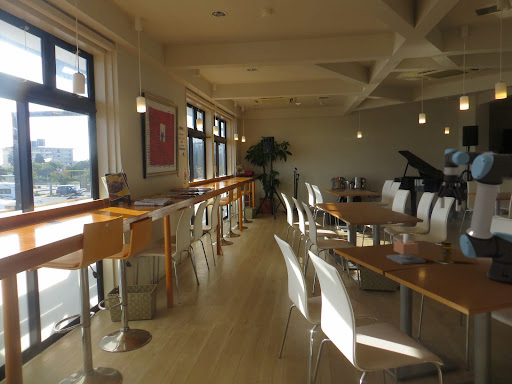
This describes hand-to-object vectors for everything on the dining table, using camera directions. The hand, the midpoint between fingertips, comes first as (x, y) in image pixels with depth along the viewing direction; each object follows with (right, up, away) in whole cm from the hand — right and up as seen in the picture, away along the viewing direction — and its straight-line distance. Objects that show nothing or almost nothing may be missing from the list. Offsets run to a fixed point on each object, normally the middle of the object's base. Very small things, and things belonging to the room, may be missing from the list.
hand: (449, 209), depth 228 cm
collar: (-27, -26, 0) cm, 37 cm away
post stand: (-27, -31, +1) cm, 41 cm away
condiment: (-5, -31, -4) cm, 32 cm away
